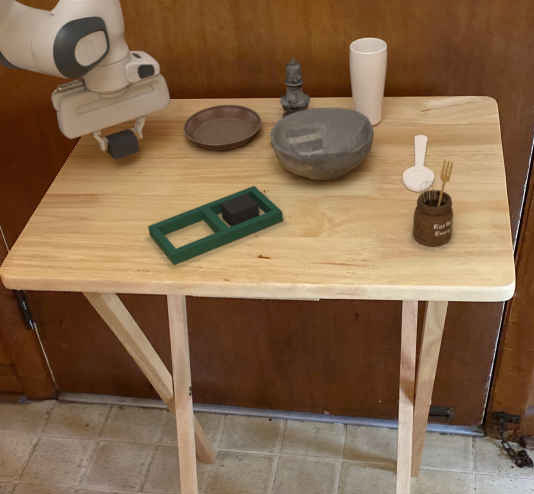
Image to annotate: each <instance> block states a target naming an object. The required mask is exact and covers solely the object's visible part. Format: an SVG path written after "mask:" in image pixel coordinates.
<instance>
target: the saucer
mask: <svg viewBox="0 0 534 494" xmlns="http://www.w3.org/2000/svg"><path fill="white" fill-rule="evenodd" d="M261 126H262V118H261V115H260V114H259V113H258V112H256V111H255V110H253V109H252V108H250V107H247V106H243V105H239V104H237V105H236V104H221V105H219V104H218V105H214V106H210V107H206V108H203V109H201V110H198V111H196V112H195V113H193V114H192V115H190V116H189V117H188V118H187V119H186V120H185V122H184V123H183V133H184V135H185V136H186V137H187V138H188V139H189V140H190V141H191V142H193V143H194V144H196V145H197V146H199V147H202V148H204V149H207V150H212V151H227V150H232V149H236V148H239V147H241V146H243V145H245V144H246V143H248V142H249V141H250V140H251V139H252V138H254V136H256V134H257V133H258V131H260V128H261Z"/></svg>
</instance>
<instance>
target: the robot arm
mask: <svg viewBox="0 0 534 494" xmlns="http://www.w3.org/2000/svg"><path fill="white" fill-rule="evenodd" d="M125 29H126V27H125V20H124V16H123V10H122V6H121V2H120V0H58V3H56V5H55V6H54V7H53V8H52V9H51V10H46V9H41V8H35V7H31V6H28V5H26V4H23V3H21V2H19V1H16V0H0V64H1V65H3V66H4V67H6V68H9V69H11V70H20V71H28V72H29V71H30V72H34V73H38V74H43V75H47V76H52V77H57V78H61V79H66V80H72V81H70V82H68V83H62V84H59V85H58V86H56V89H54V90H53V91H52V93H51V95H50V99H51V103H52V107H53V109H54V110H55V112H56V119H57V124H58V128H59V130H60V132H61V134H62V135H63V136H64V137H66V138H67V139H69V140H73V139H77V138H79V137H82V136H86V135H89V134H91V135H92V136H93V138H95V139H96V141H97V142H98V146H99V149H100V150H101V151H102V152H105V151H106V150H108V149H110V146H109V140H108V139H107V138H106V137H104V136H103V137H104V138H103V137H101V135H102V130H104V129H107V128H110V127H113V126H117V125H120V124H123V123H126V122H129V121H132V120H135V123H134V126H133V127H132V128H129V130H130V131H131V132H132V133H133V134H134V135H135V136H136V137H137V140H138V141H139V140H142V139H143V133H142V131H143V128H144V125H145V123H146V116H149V115H152V114H154V113H158V112H160V111H163V110H167V109H168V108H169V106H170V104H171V96H170V95H171V94H170V92H169V91H170V90H169V88H168V85H167V82H166V78H165V77H164V76H163V75H162V74H161V66H160V64H159V62H158V61H157V60H156V59H155V58H154V57H153V56H152V55H150V54H149V53H147V52H146V51H143V50H130V49H129V46H128V44H127V42H126V39H125Z"/></svg>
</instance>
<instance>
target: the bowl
mask: <svg viewBox="0 0 534 494" xmlns="http://www.w3.org/2000/svg"><path fill="white" fill-rule="evenodd" d="M269 135H270V145H271V148H272V150H273V152H274V154H275V156H276V159H277V160H278V161H279V163H280V165H281V166H282V167H283V168H284V169H285V170H287V171H289V172H290V173H291V174H295V175H296V176H300V177H303V178H308V179H310V180H314V181H315V180H316V181H325V180H326V181H327V180H329V181H330V180H335V179H336V178H339V177H342V176H343V175H344V174H346V173H349V172H350V171H351V170H354V169H355V168H356V167H357V166H359V165H360V164H361V163H362V162H363V161H364V160H365V159H366V158H367V157H368V155H369V154H370V151H371V150H372V146H373V141H374V135H375V131H374V127H373V126H372V125H371V122H370V121H369V119H368V117H366V116H365V115H363V114H361V113H359V112H357V111H354V109H351V108H350V109H349V108H345V107H337V106H336V107H334V106H333V107H313V108H307V110H303V111H299V112H296V113H293V114H290V115H288V116H286V117H284V118H283V117H282V118H280V119H279V120H278V121H276V122H275V123H274V124H273V126H272V129H271V131H270V134H269Z"/></svg>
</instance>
